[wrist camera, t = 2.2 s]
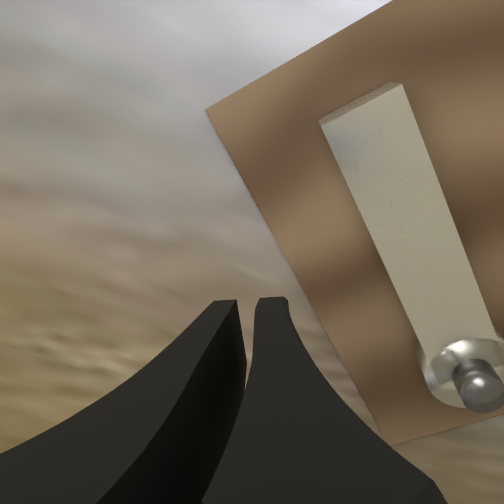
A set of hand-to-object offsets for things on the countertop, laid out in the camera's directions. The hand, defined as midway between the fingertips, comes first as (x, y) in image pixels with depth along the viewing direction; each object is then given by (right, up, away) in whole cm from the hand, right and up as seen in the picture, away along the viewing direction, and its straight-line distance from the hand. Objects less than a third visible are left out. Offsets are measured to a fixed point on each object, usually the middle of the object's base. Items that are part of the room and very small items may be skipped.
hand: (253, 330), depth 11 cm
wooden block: (+8, +2, +8) cm, 11 cm away
